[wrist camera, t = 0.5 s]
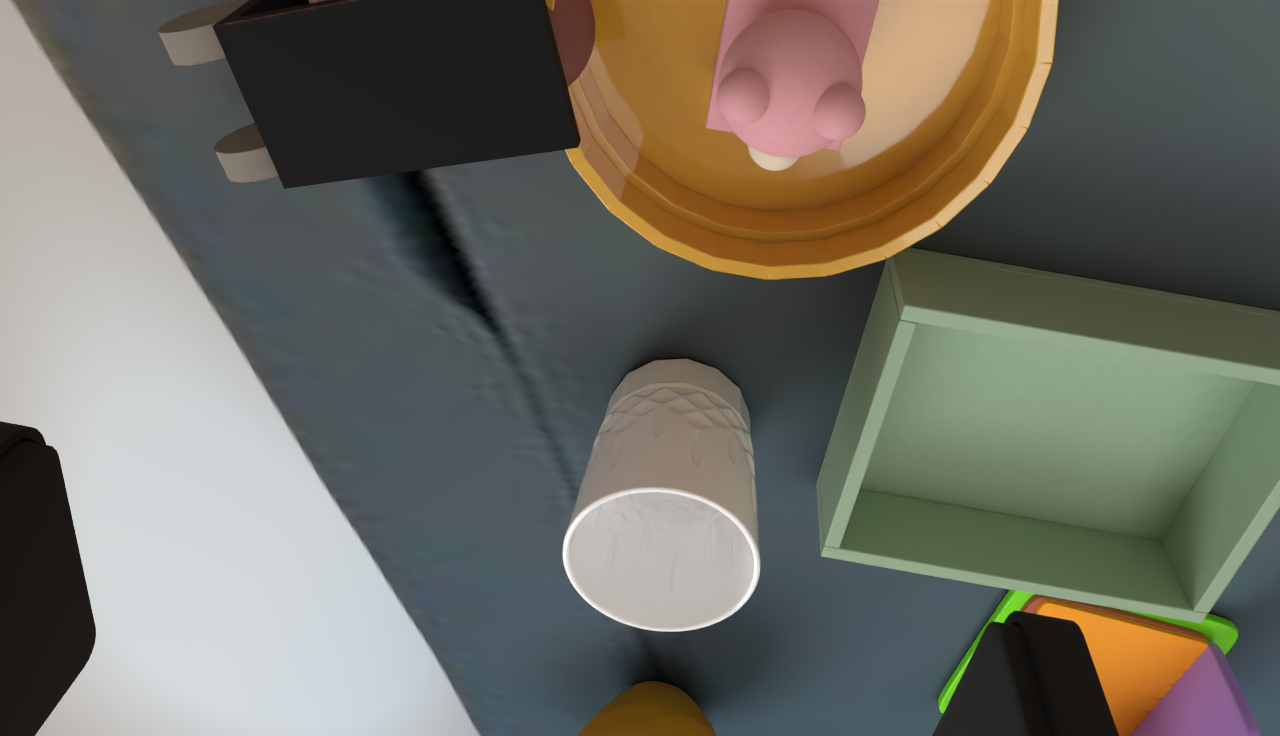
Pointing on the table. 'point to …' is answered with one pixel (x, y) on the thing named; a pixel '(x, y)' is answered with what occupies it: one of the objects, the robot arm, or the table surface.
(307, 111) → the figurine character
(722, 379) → the white cup
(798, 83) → the toy bear
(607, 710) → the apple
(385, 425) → the table surface
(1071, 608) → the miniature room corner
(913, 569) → the tub
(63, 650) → the robot arm
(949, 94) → the bowl
